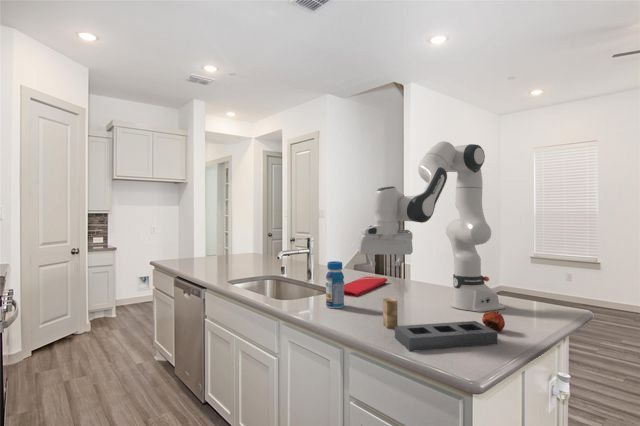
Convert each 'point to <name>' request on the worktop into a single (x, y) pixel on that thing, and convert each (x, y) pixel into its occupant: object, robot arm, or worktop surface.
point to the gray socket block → (445, 335)
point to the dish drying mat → (362, 285)
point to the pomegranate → (493, 320)
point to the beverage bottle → (334, 285)
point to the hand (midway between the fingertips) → (385, 266)
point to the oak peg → (390, 312)
